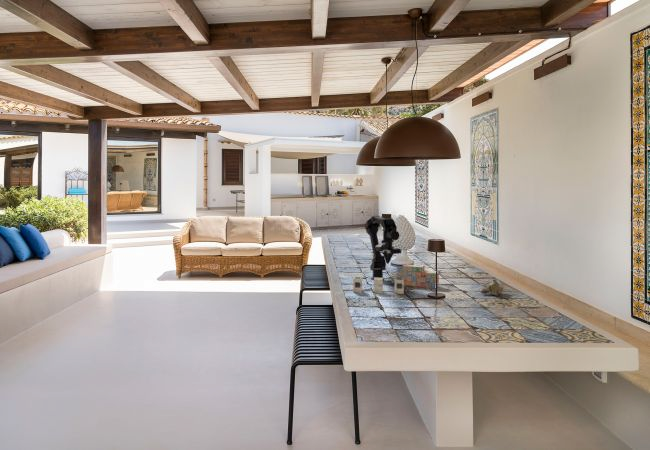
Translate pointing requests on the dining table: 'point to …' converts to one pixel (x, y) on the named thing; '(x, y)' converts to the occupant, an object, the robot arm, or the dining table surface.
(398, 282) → the marked block 2
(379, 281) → the plain block
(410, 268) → the stack of blocks
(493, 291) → the ceramic sculpture
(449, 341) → the dining table surface
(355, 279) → the marked block 1
